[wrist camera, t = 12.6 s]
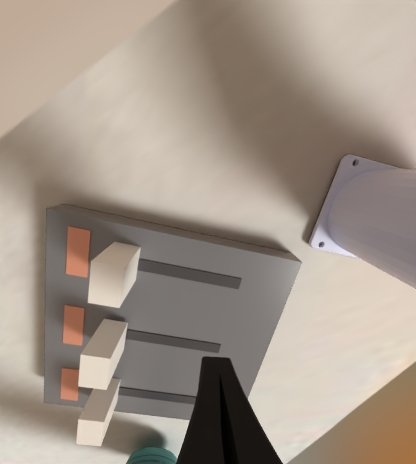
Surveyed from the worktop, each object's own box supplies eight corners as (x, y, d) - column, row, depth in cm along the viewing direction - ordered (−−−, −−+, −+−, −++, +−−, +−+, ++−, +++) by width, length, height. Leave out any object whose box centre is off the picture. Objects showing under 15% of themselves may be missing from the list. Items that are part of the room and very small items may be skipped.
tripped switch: (127, 322, 17) (110, 358, 14) (123, 349, 18) (106, 390, 15) (104, 318, 17) (80, 354, 14) (101, 346, 18) (78, 386, 15)
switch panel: (291, 252, 18) (327, 285, 13) (233, 405, 24) (243, 471, 19) (64, 204, 16) (0, 219, 11) (57, 382, 22) (12, 449, 17)
